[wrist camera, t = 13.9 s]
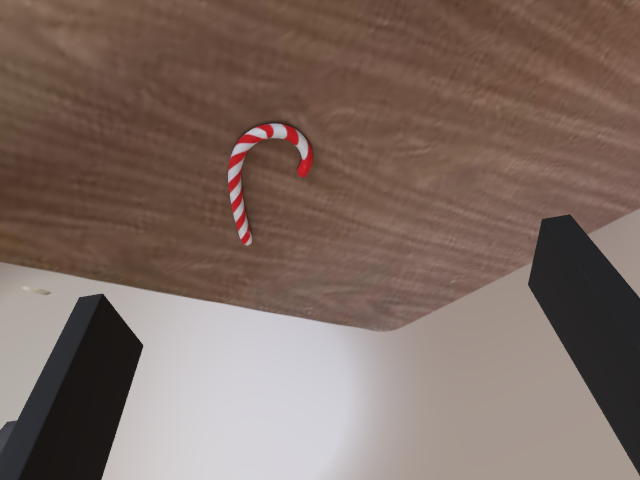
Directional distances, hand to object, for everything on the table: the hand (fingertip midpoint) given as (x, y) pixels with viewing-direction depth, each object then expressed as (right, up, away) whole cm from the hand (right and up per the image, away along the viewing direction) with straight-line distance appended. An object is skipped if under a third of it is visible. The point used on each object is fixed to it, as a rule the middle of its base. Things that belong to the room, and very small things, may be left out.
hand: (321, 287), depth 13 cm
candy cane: (-6, +7, +31) cm, 32 cm away
